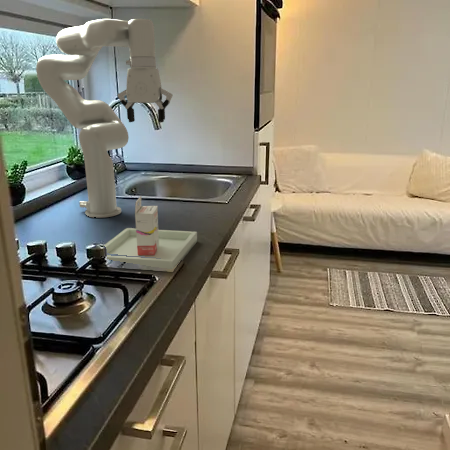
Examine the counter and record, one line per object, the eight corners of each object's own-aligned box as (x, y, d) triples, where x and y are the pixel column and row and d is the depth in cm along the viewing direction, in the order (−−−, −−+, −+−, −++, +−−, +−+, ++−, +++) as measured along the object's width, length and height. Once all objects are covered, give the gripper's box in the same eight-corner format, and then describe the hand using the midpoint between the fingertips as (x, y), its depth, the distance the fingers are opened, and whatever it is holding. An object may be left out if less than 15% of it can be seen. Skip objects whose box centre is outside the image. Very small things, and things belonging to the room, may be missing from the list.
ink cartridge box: (155, 255, 128) (152, 202, 124) (137, 255, 128) (133, 202, 124) (160, 245, 137) (157, 194, 132) (142, 245, 137) (139, 194, 132)
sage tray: (91, 266, 123) (89, 255, 123) (127, 237, 146) (126, 228, 145) (172, 272, 119) (172, 261, 118) (197, 241, 142) (196, 231, 141)
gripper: (110, 64, 142) (115, 122, 147) (166, 63, 138) (169, 123, 143) (121, 64, 149) (125, 120, 154) (174, 63, 145) (176, 121, 150)
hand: (146, 122), depth 149 cm, fingers open, 9 cm apart
